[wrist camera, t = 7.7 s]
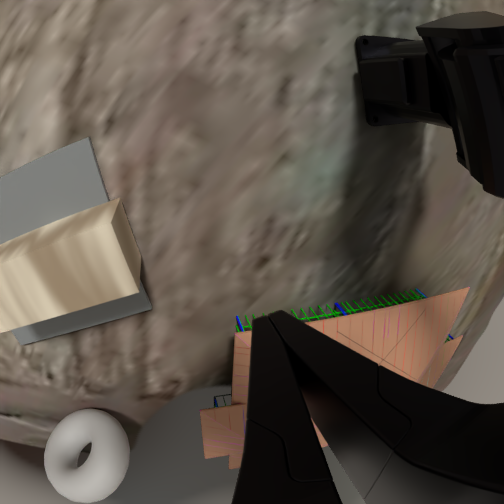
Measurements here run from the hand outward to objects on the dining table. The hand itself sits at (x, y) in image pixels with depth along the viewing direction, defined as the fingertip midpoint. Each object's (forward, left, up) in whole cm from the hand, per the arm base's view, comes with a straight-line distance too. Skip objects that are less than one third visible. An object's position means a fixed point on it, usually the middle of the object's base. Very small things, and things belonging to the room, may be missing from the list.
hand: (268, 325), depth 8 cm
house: (-10, +23, -13) cm, 28 cm away
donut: (+17, +16, -12) cm, 27 cm away
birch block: (+5, 0, -10) cm, 11 cm away
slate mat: (+12, 0, -12) cm, 17 cm away
